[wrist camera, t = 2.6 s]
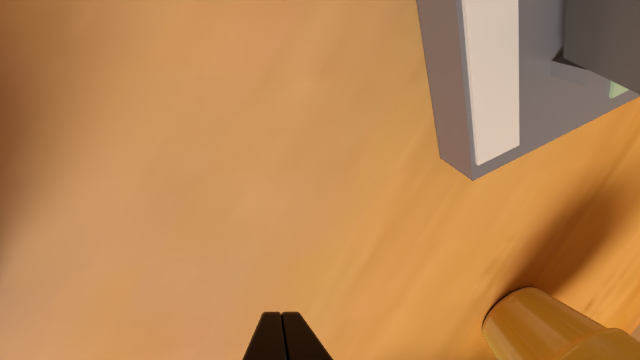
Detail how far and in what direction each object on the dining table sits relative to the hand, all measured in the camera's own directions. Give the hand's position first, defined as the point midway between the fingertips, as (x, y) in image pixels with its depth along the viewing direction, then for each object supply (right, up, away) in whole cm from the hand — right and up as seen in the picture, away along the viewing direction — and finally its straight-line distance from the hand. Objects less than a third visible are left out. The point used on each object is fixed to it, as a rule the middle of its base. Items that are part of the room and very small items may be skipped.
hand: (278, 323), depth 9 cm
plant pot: (+19, -9, +27) cm, 34 cm away
